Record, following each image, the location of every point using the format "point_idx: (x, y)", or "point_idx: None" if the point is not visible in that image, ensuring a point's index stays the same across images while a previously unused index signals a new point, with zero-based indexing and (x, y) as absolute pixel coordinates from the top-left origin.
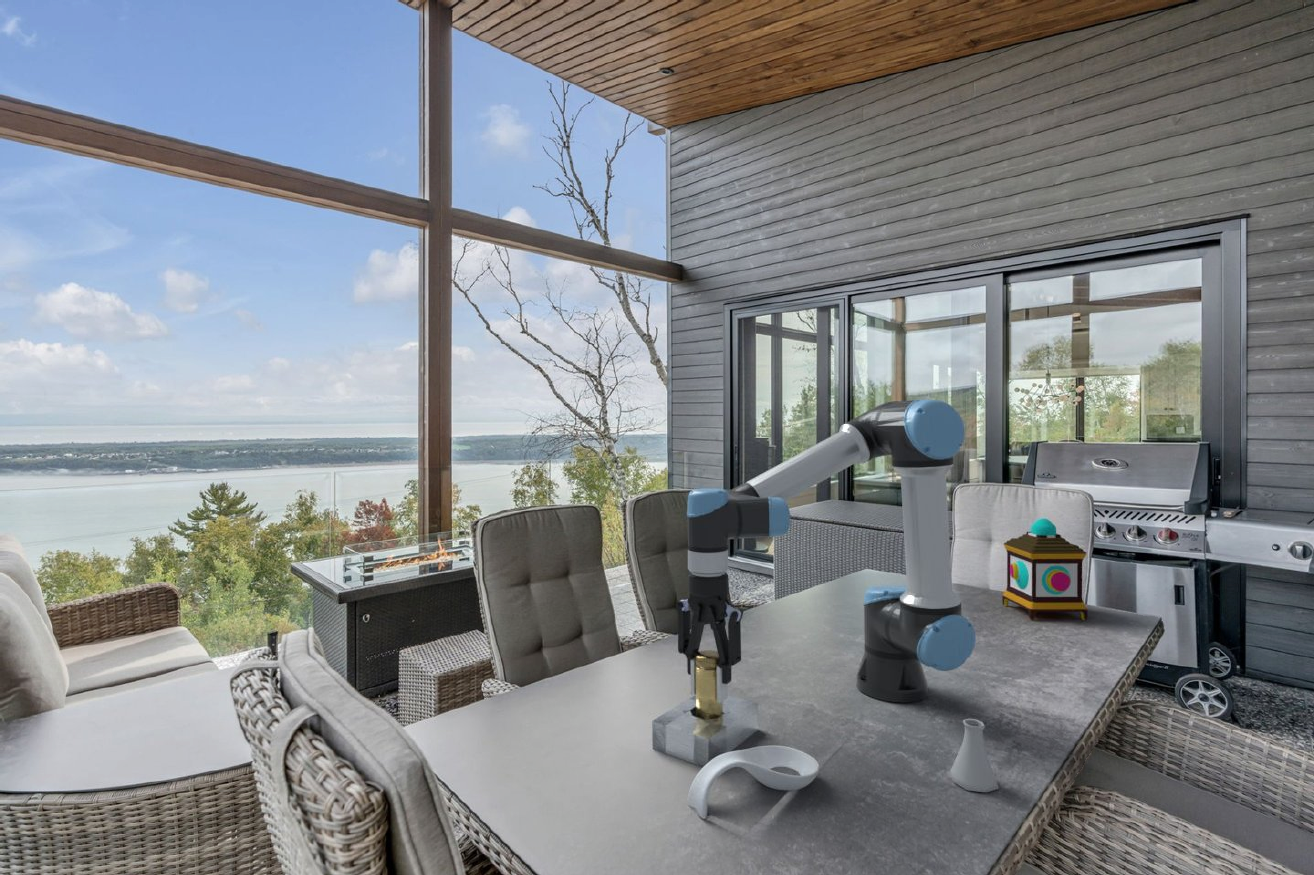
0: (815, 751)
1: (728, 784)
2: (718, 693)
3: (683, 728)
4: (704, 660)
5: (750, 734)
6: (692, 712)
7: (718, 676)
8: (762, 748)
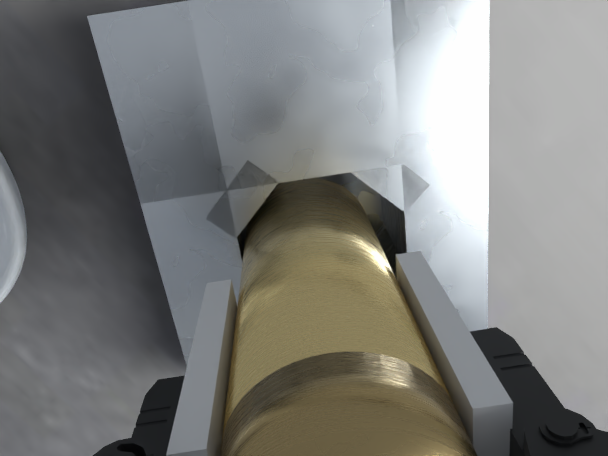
0: (15, 404)
1: (23, 10)
2: (212, 308)
3: (282, 17)
4: (302, 430)
5: None
6: (400, 226)
7: (198, 388)
8: (7, 237)
